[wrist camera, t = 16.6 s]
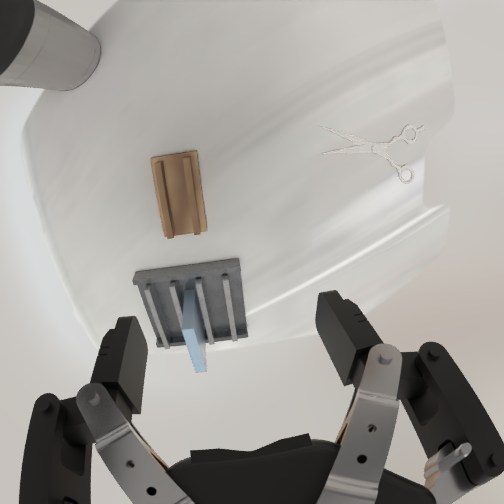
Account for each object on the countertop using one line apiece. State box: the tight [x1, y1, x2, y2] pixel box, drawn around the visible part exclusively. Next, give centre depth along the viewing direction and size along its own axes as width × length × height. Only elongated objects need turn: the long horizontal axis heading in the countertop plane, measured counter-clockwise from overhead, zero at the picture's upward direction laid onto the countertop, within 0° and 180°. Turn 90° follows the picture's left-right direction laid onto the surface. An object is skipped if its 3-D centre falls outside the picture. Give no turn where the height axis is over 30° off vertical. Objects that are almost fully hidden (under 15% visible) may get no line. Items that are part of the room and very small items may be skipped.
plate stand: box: [151, 151, 207, 239], centre depth 34 cm, size 6×11×3 cm, turn 4°
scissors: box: [320, 125, 425, 184], centre depth 36 cm, size 11×1×20 cm
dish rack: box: [132, 258, 248, 349], centre depth 42 cm, size 16×14×4 cm
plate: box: [182, 289, 207, 373], centre depth 39 cm, size 2×9×9 cm, turn 5°
